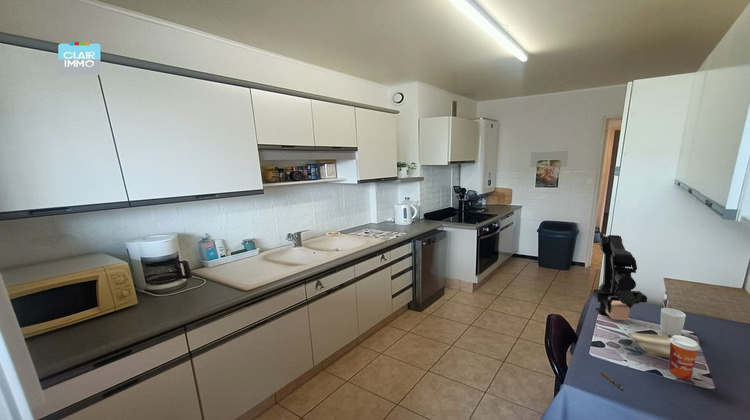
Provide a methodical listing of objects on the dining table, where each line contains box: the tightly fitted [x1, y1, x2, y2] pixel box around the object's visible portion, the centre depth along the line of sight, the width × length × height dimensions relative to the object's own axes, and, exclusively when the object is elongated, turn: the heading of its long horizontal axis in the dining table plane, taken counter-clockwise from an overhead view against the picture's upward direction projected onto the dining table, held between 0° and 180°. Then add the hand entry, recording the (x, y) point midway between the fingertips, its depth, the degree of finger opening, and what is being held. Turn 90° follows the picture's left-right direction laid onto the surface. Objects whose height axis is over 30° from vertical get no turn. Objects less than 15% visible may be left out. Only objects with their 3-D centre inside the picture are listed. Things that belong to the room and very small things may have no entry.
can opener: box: [600, 371, 624, 391], centre depth 108 cm, size 9×2×1 cm, turn 1°
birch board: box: [628, 332, 671, 358], centre depth 126 cm, size 14×14×1 cm
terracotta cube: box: [606, 300, 631, 321], centre depth 133 cm, size 6×6×6 cm
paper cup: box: [668, 335, 701, 380], centre depth 109 cm, size 8×8×14 cm
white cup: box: [659, 307, 687, 337], centre depth 134 cm, size 8×8×10 cm
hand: (617, 313), depth 133 cm, fingers closed on terracotta cube, 6 cm apart
